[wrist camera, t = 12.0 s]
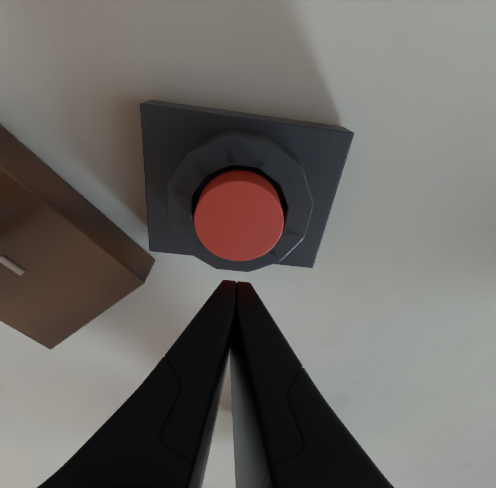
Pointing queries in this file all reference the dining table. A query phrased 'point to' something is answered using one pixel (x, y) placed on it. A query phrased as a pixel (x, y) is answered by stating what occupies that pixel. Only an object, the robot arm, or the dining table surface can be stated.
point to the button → (239, 216)
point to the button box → (238, 158)
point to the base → (57, 251)
